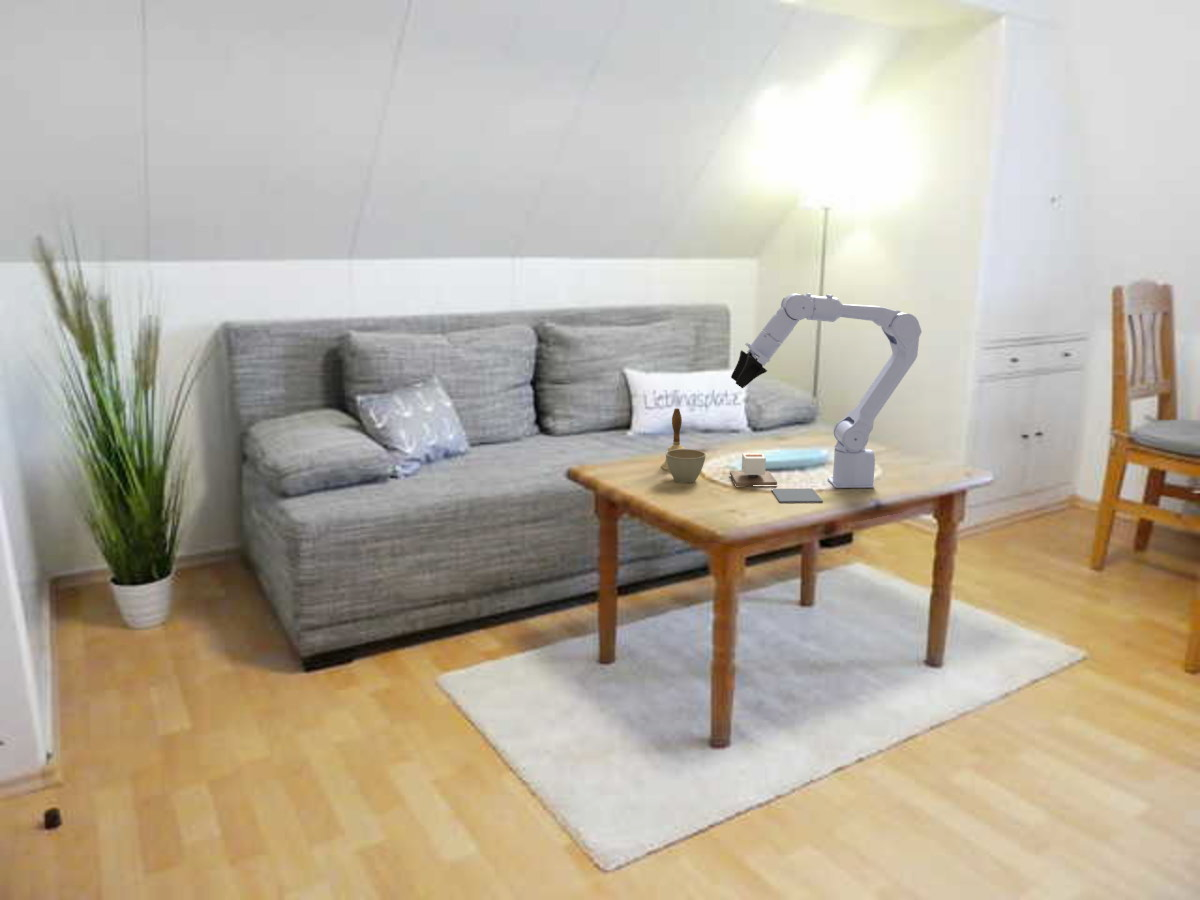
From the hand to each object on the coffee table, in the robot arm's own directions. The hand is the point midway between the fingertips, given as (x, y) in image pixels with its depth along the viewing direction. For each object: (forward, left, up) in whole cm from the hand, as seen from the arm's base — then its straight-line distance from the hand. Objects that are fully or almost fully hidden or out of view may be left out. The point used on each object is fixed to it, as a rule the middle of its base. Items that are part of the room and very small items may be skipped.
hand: (736, 382), depth 208 cm
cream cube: (-5, -2, -23) cm, 24 cm away
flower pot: (+12, -3, -26) cm, 28 cm away
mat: (-13, +11, -26) cm, 31 cm away
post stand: (-5, -2, -26) cm, 26 cm away
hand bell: (+13, -16, -26) cm, 33 cm away
